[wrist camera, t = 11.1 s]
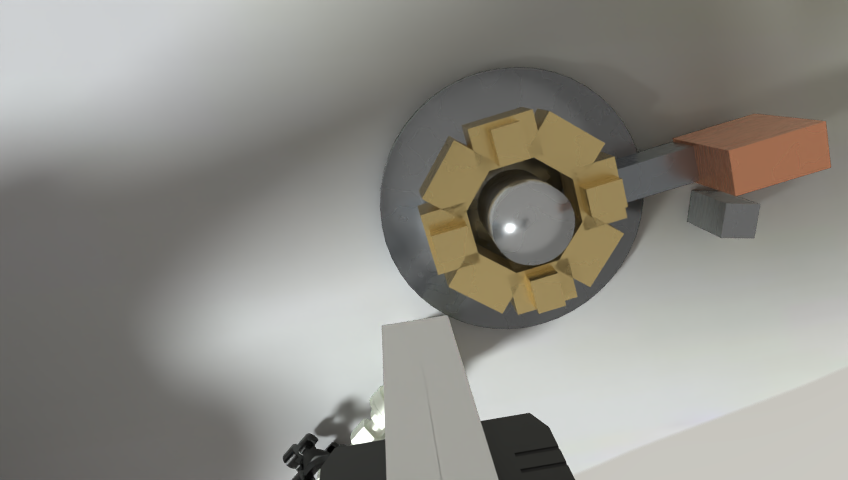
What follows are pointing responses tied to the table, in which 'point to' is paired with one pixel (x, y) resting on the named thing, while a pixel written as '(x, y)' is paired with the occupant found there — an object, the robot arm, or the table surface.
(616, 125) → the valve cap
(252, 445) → the table surface
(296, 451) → the valve
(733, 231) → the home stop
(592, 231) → the tan and copper piece
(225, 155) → the table surface
